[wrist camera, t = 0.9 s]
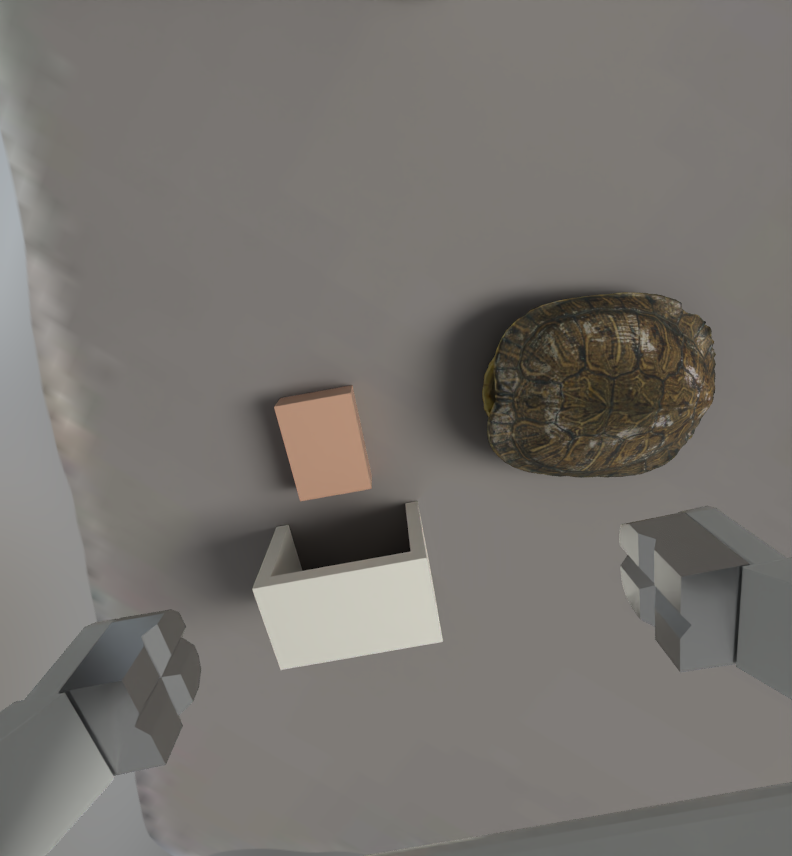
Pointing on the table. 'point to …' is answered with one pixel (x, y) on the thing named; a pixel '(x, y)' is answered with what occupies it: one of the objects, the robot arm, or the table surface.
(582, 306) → the turtle shell
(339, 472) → the tan rectangular block
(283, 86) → the table surface
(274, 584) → the white storage bin
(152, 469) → the table surface
